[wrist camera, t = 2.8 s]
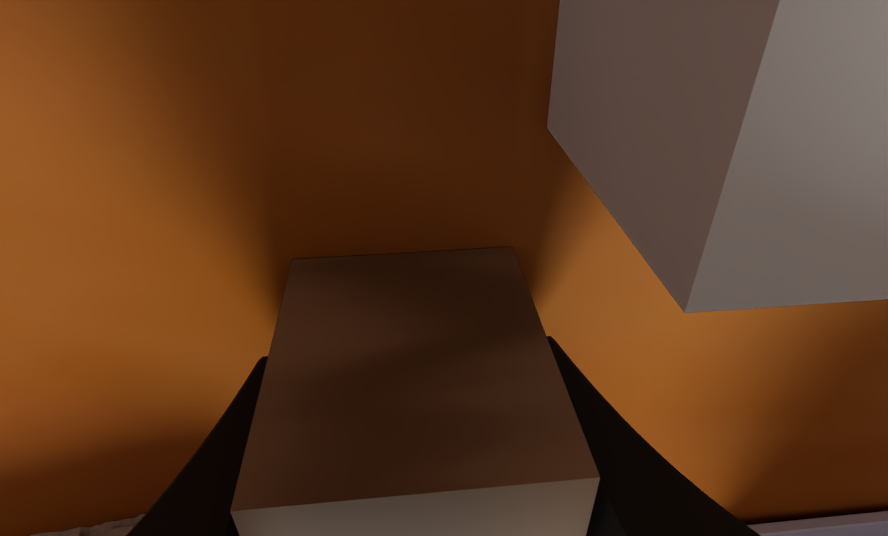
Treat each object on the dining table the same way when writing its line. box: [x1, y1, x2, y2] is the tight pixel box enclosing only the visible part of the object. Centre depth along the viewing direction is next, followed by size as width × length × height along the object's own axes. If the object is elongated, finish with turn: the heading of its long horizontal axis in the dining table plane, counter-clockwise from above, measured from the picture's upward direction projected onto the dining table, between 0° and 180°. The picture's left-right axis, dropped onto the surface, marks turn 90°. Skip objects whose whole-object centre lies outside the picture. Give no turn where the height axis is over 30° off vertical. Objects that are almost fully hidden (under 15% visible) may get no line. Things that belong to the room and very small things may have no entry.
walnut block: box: [230, 247, 600, 536], centre depth 10 cm, size 4×4×6 cm
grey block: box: [547, 0, 888, 313], centre depth 7 cm, size 4×4×6 cm
